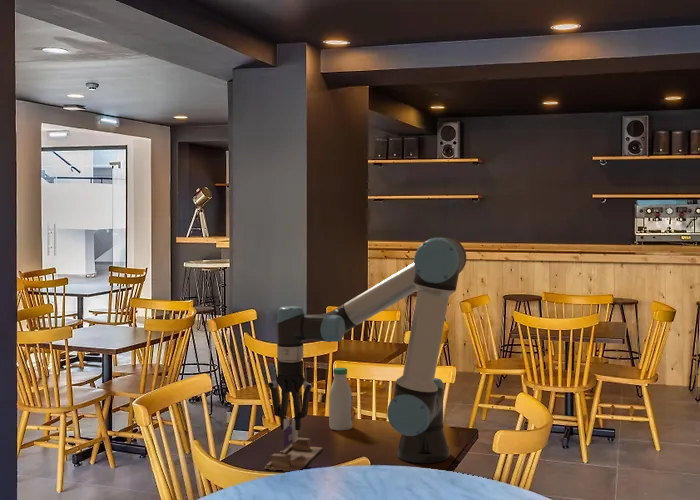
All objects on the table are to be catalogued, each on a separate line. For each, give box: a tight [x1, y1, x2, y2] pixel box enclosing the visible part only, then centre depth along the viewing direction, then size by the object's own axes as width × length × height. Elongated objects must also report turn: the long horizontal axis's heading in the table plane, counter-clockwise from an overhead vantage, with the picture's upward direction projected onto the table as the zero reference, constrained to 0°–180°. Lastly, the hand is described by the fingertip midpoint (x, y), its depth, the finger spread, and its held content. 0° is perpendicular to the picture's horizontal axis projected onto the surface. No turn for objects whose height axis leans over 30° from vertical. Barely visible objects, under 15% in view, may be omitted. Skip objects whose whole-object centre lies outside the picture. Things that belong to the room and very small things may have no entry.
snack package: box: [283, 424, 292, 449], centre depth 223 cm, size 12×2×5 cm, turn 165°
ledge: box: [264, 437, 323, 472], centre depth 223 cm, size 22×10×4 cm, turn 165°
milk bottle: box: [328, 367, 353, 431], centre depth 256 cm, size 8×8×20 cm
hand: (290, 440), depth 223 cm, fingers closed on snack package, 2 cm apart
